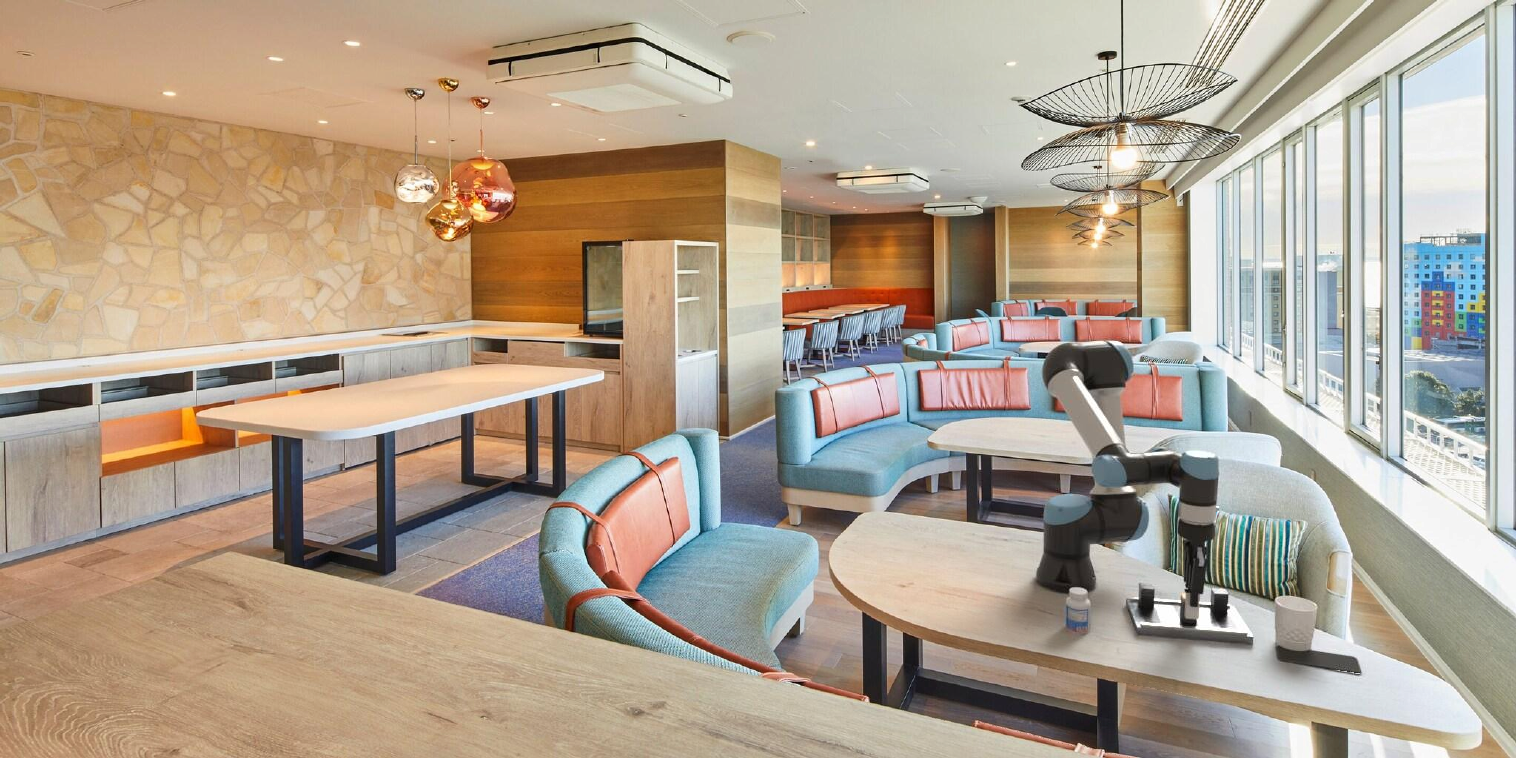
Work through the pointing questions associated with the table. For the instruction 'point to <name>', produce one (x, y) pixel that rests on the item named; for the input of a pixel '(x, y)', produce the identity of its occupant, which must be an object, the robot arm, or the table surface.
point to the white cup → (1294, 622)
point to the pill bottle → (1078, 611)
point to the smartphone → (1318, 659)
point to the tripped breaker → (1182, 611)
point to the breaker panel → (1165, 622)
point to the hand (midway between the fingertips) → (1191, 617)
